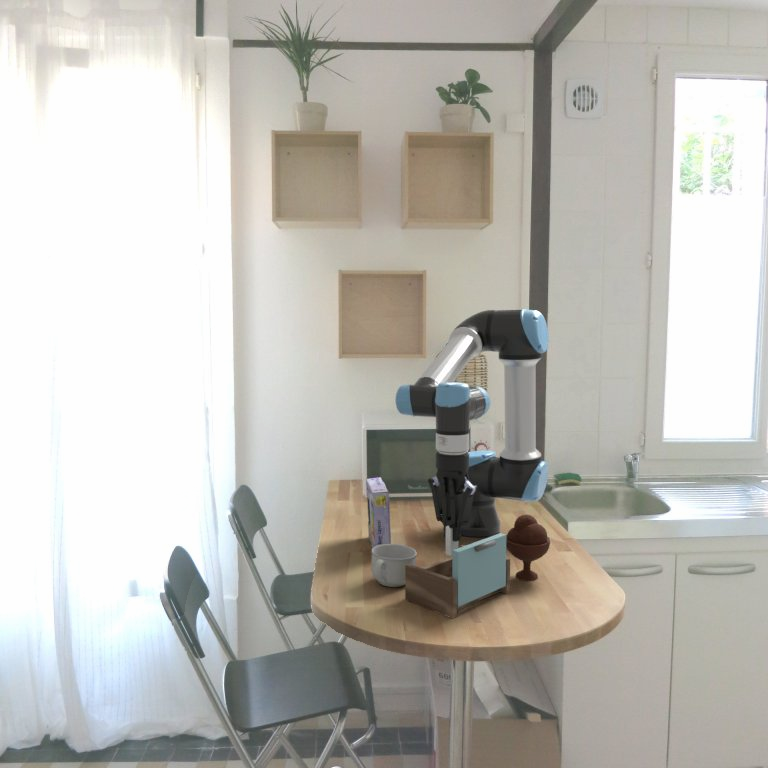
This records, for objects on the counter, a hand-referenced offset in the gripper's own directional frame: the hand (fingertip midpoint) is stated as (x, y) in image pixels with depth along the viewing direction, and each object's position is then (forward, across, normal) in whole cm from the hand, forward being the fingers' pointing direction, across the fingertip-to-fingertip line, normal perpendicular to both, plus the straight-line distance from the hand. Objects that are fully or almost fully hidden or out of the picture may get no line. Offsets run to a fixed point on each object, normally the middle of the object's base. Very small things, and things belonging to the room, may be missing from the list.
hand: (451, 553), depth 163 cm
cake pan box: (+10, -36, +11) cm, 39 cm away
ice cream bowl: (+10, +6, +21) cm, 24 cm away
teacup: (+10, -14, -6) cm, 18 cm away
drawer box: (+9, +1, 0) cm, 9 cm away
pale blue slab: (+7, +9, 0) cm, 12 cm away
